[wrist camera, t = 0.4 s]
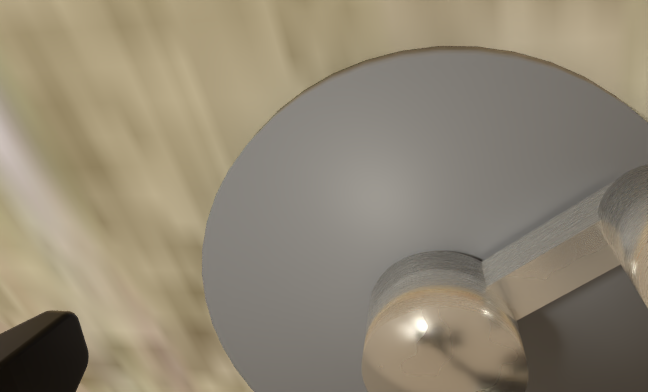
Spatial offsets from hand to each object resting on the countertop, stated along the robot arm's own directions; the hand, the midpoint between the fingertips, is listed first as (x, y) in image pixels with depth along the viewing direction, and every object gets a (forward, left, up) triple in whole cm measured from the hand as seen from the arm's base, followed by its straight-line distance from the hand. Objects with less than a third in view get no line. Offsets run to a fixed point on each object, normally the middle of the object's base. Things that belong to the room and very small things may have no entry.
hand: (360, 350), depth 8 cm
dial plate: (-6, +3, -12) cm, 14 cm away
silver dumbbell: (-6, 0, -10) cm, 12 cm away
